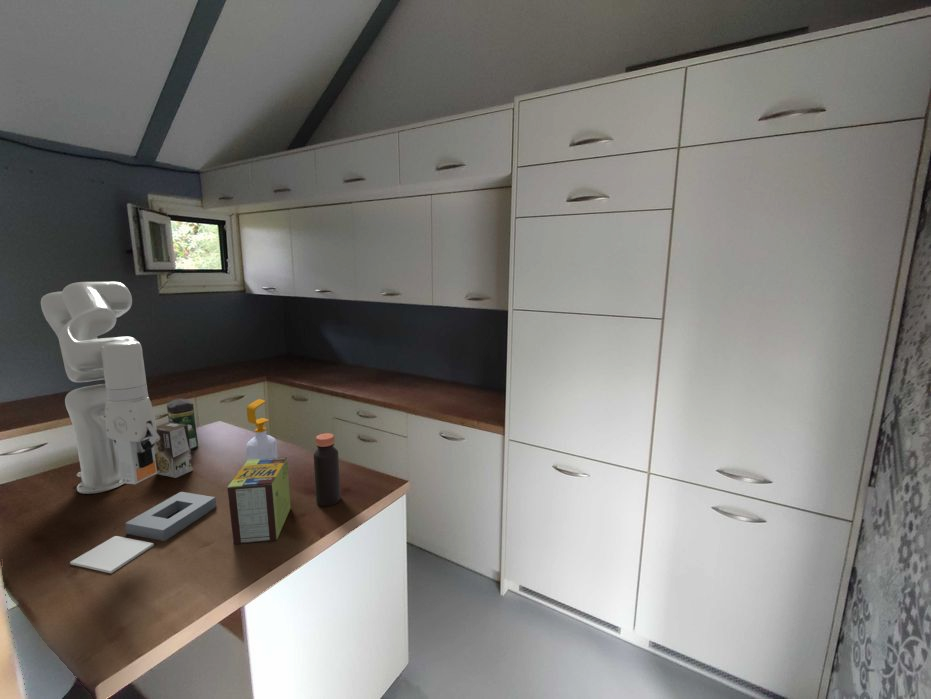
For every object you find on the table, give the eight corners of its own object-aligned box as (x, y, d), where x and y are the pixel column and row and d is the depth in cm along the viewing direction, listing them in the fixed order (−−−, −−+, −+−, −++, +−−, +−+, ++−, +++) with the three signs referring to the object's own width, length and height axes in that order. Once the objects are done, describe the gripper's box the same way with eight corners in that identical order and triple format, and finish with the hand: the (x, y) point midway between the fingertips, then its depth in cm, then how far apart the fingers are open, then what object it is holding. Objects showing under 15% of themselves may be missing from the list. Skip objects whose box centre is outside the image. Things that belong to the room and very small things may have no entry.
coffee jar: (169, 446, 160) (163, 399, 157) (193, 440, 166) (188, 395, 162) (176, 454, 153) (170, 405, 150) (200, 448, 159) (195, 400, 156)
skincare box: (136, 485, 101) (128, 437, 99) (121, 483, 102) (113, 436, 99) (158, 473, 107) (152, 428, 105) (144, 471, 108) (137, 427, 105)
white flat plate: (70, 564, 96) (70, 561, 96) (115, 537, 106) (115, 535, 105) (111, 573, 93) (110, 571, 93) (153, 545, 103) (153, 543, 103)
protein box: (291, 507, 120) (287, 456, 117) (277, 541, 105) (272, 483, 102) (252, 510, 118) (247, 459, 115) (231, 545, 103) (226, 487, 100)
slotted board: (126, 533, 107) (125, 523, 107) (182, 501, 123) (180, 491, 122) (164, 541, 104) (163, 530, 104) (216, 506, 120) (215, 497, 119)
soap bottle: (284, 469, 143) (279, 399, 138) (258, 480, 135) (252, 407, 131) (268, 462, 147) (262, 395, 143) (243, 473, 140) (236, 402, 135)
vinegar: (312, 500, 123) (308, 436, 120) (333, 492, 128) (329, 430, 125) (323, 509, 119) (319, 443, 115) (345, 500, 124) (342, 436, 120)
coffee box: (194, 470, 142) (188, 424, 139) (175, 478, 136) (169, 431, 133) (174, 465, 145) (168, 421, 142) (155, 474, 139) (149, 427, 136)
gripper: (82, 394, 98) (94, 467, 102) (141, 400, 95) (152, 475, 98) (115, 386, 105) (125, 454, 109) (171, 391, 102) (179, 461, 105)
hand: (137, 463), depth 103 cm, fingers closed on skincare box, 4 cm apart
